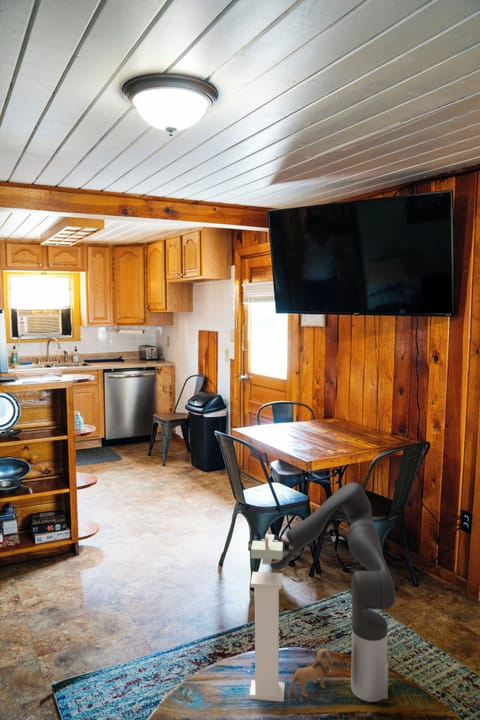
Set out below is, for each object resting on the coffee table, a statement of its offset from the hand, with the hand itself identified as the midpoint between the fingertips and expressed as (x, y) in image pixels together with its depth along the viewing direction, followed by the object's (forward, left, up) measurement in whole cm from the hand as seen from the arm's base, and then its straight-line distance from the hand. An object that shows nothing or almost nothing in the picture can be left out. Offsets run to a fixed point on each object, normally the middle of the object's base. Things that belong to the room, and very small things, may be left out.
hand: (268, 544), depth 148 cm
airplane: (0, 0, -2) cm, 2 cm away
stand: (0, +6, -39) cm, 39 cm away
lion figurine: (-12, +3, -39) cm, 41 cm away
